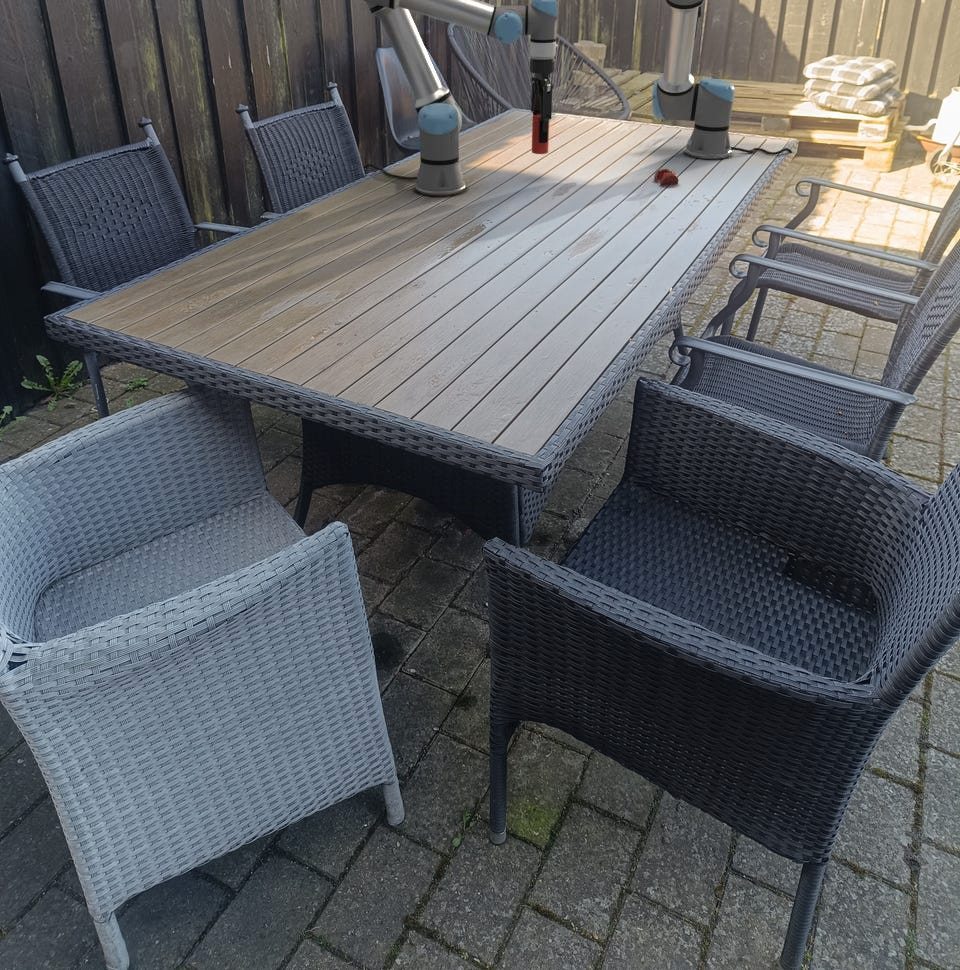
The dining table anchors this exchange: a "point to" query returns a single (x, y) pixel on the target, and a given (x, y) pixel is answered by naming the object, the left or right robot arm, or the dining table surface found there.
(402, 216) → the dining table surface
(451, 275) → the dining table surface
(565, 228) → the dining table surface
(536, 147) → the canister
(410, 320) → the dining table surface
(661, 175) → the red lumpy piece
